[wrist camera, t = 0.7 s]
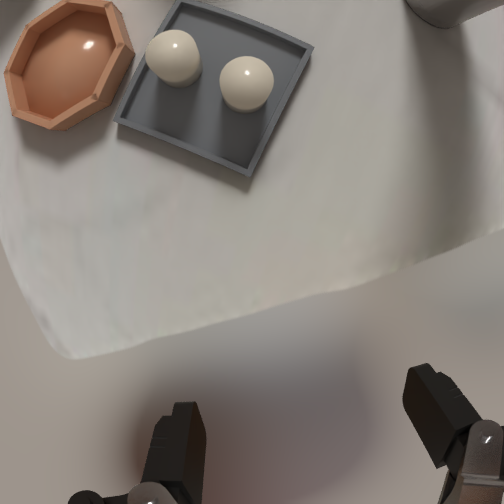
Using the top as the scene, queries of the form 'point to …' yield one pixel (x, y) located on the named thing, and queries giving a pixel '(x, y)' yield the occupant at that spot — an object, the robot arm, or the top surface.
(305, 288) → the top surface
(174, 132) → the tray
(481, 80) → the top surface
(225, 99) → the pebble
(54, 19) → the terracotta bowl
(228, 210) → the top surface
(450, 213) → the top surface
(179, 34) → the pebble
